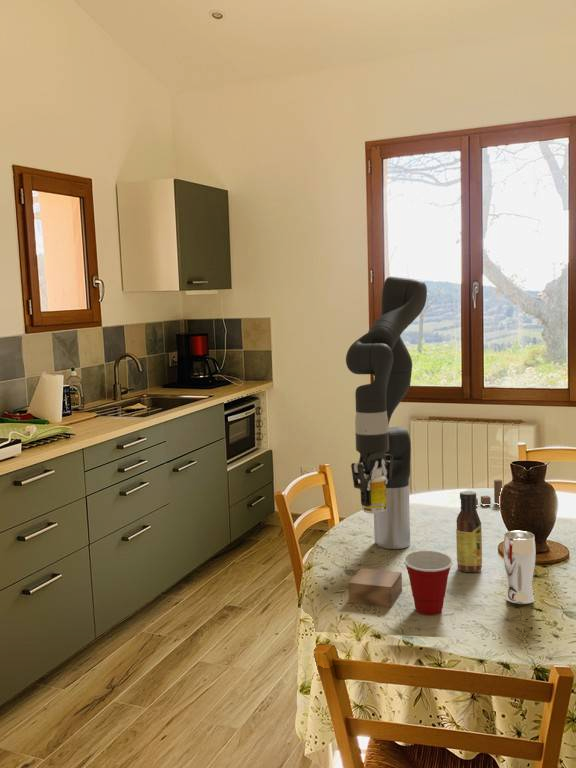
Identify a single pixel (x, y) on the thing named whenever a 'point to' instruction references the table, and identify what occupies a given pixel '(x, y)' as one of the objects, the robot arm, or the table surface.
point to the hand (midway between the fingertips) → (373, 502)
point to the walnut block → (375, 587)
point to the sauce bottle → (469, 534)
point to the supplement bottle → (377, 494)
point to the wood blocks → (496, 494)
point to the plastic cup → (428, 579)
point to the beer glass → (519, 565)
